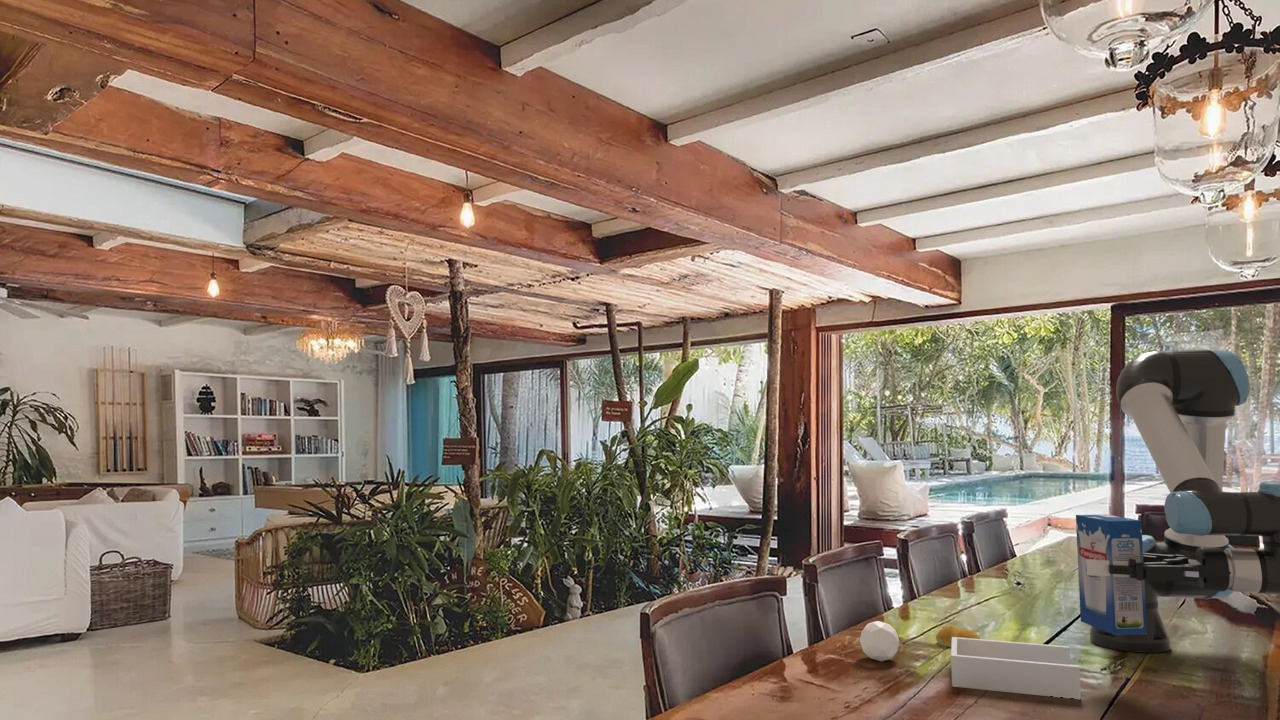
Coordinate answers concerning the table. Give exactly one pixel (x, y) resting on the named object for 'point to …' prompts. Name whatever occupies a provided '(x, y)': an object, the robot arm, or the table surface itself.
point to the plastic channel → (1014, 667)
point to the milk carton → (1110, 597)
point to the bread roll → (953, 635)
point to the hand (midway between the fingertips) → (1083, 562)
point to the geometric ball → (879, 641)
